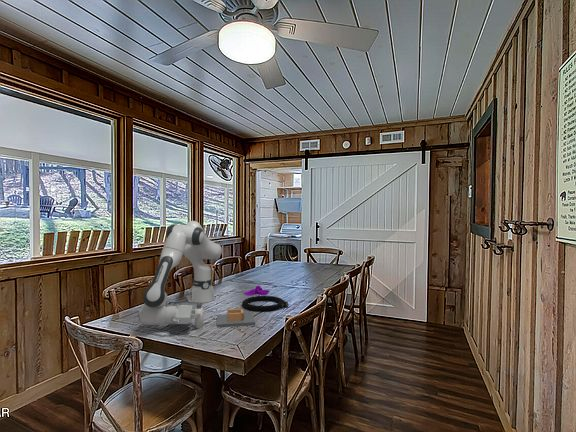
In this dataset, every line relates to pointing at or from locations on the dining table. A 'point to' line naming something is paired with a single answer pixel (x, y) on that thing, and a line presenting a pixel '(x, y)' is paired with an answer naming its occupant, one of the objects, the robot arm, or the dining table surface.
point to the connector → (199, 319)
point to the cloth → (256, 291)
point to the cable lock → (278, 306)
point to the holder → (235, 318)
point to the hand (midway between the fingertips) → (200, 313)
